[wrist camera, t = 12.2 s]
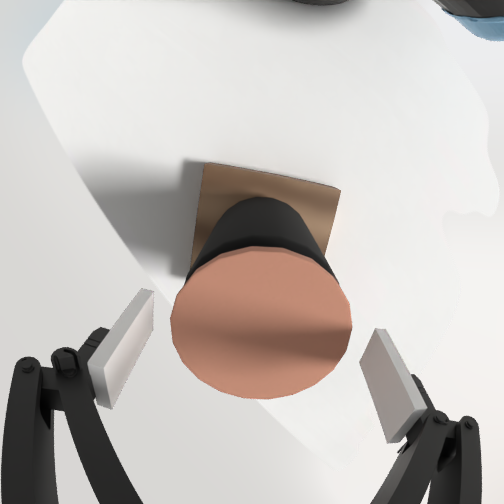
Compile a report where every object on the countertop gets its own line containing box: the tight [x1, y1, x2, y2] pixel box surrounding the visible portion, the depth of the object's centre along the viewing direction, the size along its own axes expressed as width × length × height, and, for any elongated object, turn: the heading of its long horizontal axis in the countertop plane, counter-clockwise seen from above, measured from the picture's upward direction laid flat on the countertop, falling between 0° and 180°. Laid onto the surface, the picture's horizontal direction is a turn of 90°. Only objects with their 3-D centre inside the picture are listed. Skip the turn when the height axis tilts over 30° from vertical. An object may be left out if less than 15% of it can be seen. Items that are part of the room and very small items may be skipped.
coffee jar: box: [170, 197, 352, 399], centre depth 25 cm, size 11×11×18 cm
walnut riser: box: [190, 163, 341, 269], centre depth 35 cm, size 15×15×3 cm
